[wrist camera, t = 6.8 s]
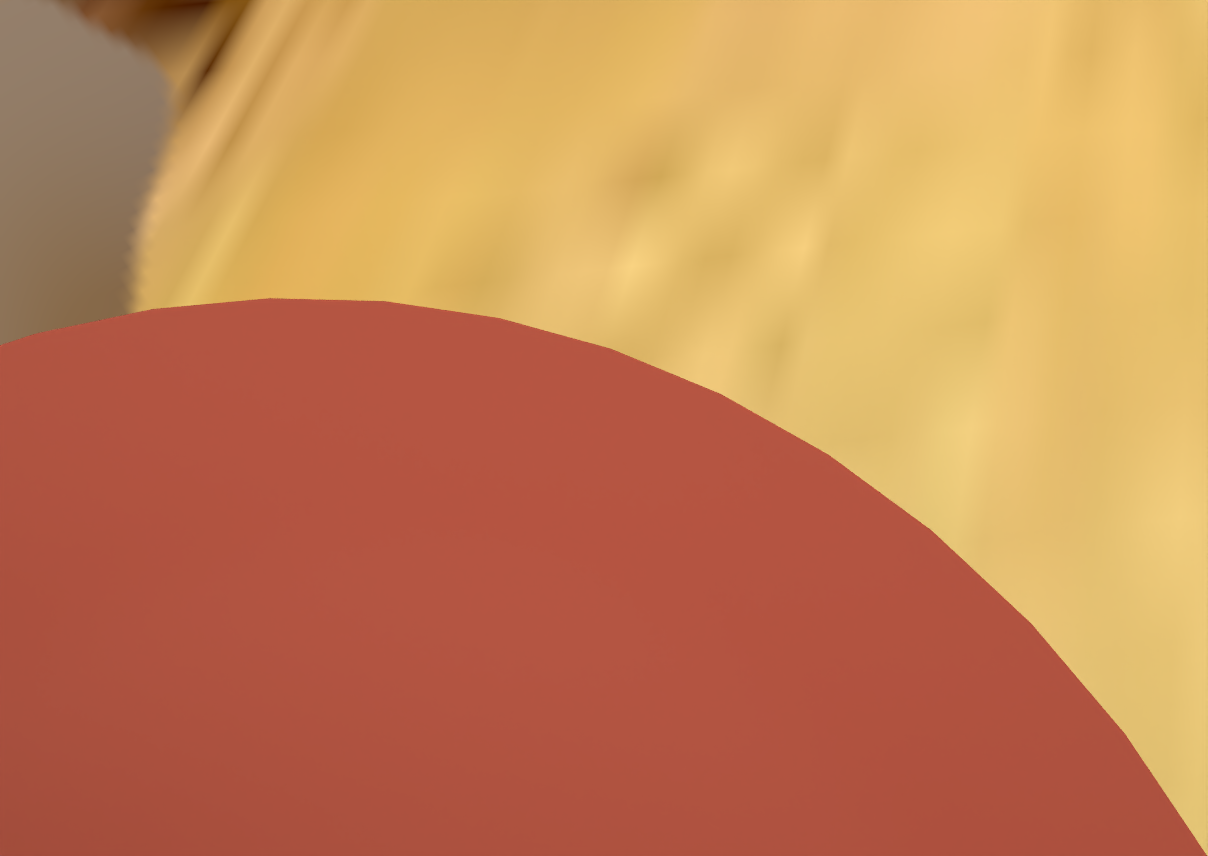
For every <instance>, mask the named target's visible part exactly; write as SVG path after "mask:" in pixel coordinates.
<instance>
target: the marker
mask: <svg viewBox="0 0 1208 856" xmlns="http://www.w3.org/2000/svg"><path fill="white" fill-rule="evenodd" d="M0 856H1207V855H1206V854H1205V852H1204V851H1203V849H1202V848H1201V846H1200V845H1199V843H1198V842H1197V840H1196V839H1195V837H1194V836H1193V834H1192V833H1191V831H1190V830H1189V828H1188V827H1187V825H1186V824H1185V822H1184V821H1183V819H1182V818H1181V816H1180V815H1179V813H1178V812H1177V810H1176V809H1175V808H1174V806H1173V805H1172V803H1171V802H1170V800H1169V799H1168V797H1167V796H1166V794H1165V793H1164V791H1163V790H1162V788H1161V787H1160V785H1159V784H1158V782H1157V781H1156V779H1155V778H1154V776H1153V775H1152V773H1151V772H1150V770H1149V769H1148V767H1147V766H1146V764H1145V763H1144V761H1143V760H1142V759H1141V757H1140V756H1139V754H1138V753H1137V751H1136V750H1135V748H1134V747H1133V745H1132V744H1131V742H1130V741H1129V739H1128V738H1127V736H1126V735H1125V733H1124V732H1123V731H1122V730H1121V729H1120V728H1119V726H1118V725H1117V724H1116V723H1115V722H1114V720H1113V719H1112V718H1111V717H1110V716H1109V715H1108V713H1107V712H1106V711H1105V710H1104V709H1103V708H1102V706H1101V705H1100V704H1099V703H1098V702H1097V700H1096V699H1095V698H1094V697H1093V696H1092V695H1091V693H1090V692H1089V691H1088V690H1087V689H1086V688H1085V686H1084V685H1083V684H1082V683H1081V682H1080V680H1079V679H1078V678H1077V677H1076V676H1075V675H1074V673H1073V672H1072V671H1071V670H1070V669H1069V668H1068V666H1067V665H1066V664H1065V663H1064V662H1063V660H1062V659H1061V658H1060V657H1059V656H1058V655H1057V653H1056V652H1055V651H1054V650H1053V649H1052V647H1051V646H1050V645H1049V644H1048V643H1047V642H1046V640H1045V639H1044V638H1043V637H1042V636H1041V635H1040V633H1039V632H1038V631H1037V630H1036V629H1035V627H1034V626H1033V625H1032V624H1031V623H1030V622H1029V621H1028V620H1027V619H1026V618H1025V617H1024V616H1023V615H1021V614H1020V613H1019V612H1018V611H1017V610H1016V609H1015V608H1014V607H1013V606H1012V605H1011V604H1010V603H1009V602H1008V601H1006V600H1005V599H1004V598H1003V597H1002V596H1001V595H1000V594H999V593H998V592H997V591H996V590H995V589H994V588H993V587H992V586H990V585H989V584H988V583H987V582H986V581H985V580H984V579H983V578H982V577H981V576H980V575H979V574H978V573H977V572H975V571H974V570H973V569H972V568H971V567H970V566H969V565H968V564H967V563H966V562H965V561H964V560H963V559H962V558H960V557H959V556H958V555H957V554H956V553H955V552H954V551H953V550H952V549H951V548H950V547H949V546H948V545H947V544H945V543H944V542H943V541H942V540H941V539H940V538H939V537H938V536H937V535H936V534H935V533H934V532H933V531H931V530H930V529H929V528H927V527H926V526H925V525H923V524H922V523H921V522H919V521H918V520H917V519H915V518H914V517H912V516H911V515H910V514H908V513H907V512H906V511H904V510H903V509H902V508H900V507H899V506H897V505H896V504H895V503H893V502H892V501H891V500H889V499H888V498H887V497H885V496H884V495H882V494H881V493H880V492H878V491H877V490H876V489H874V488H873V487H872V486H870V485H869V484H868V483H866V482H865V481H863V480H862V479H861V478H859V477H858V476H857V475H855V474H854V473H853V472H851V471H850V470H848V469H847V468H846V467H844V466H843V465H842V464H840V463H839V462H838V461H836V460H835V459H833V458H832V457H831V456H829V455H828V454H826V453H824V452H823V451H821V450H819V449H817V448H816V447H814V446H812V445H810V444H808V443H807V442H805V441H803V440H801V439H800V438H798V437H796V436H794V435H792V434H791V433H789V432H787V431H785V430H784V429H782V428H780V427H778V426H776V425H775V424H773V423H771V422H769V421H768V420H766V419H764V418H762V417H761V416H759V415H757V414H755V413H753V412H752V411H750V410H748V409H746V408H745V407H743V406H741V405H739V404H737V403H736V402H734V401H732V400H730V399H729V398H727V397H725V396H723V395H721V394H719V393H717V392H714V391H712V390H709V389H707V388H705V387H702V386H700V385H697V384H695V383H692V382H690V381H688V380H685V379H683V378H680V377H678V376H676V375H673V374H671V373H668V372H666V371H663V370H661V369H659V368H656V367H654V366H651V365H649V364H646V363H644V362H642V361H639V360H637V359H634V358H632V357H629V356H627V355H625V354H622V353H620V352H617V351H615V350H612V349H609V348H606V347H602V346H599V345H595V344H591V343H588V342H584V341H580V340H577V339H573V338H569V337H566V336H562V335H558V334H555V333H551V332H548V331H544V330H540V329H537V328H533V327H529V326H526V325H522V324H518V323H515V322H511V321H508V320H504V319H500V318H495V317H488V316H481V315H474V314H467V313H461V312H454V311H447V310H440V309H433V308H427V307H420V306H413V305H406V304H399V303H393V302H386V301H351V300H312V299H273V298H269V299H258V300H247V301H236V302H225V303H214V304H203V305H193V306H182V307H171V308H160V309H151V310H147V311H142V312H137V313H132V314H127V315H123V316H118V317H113V318H108V319H104V320H99V321H94V322H89V323H84V324H80V325H75V326H70V327H65V328H61V329H56V330H51V331H46V332H42V333H37V334H33V335H30V336H27V337H24V338H21V339H18V340H15V341H12V342H9V343H6V344H3V345H0Z"/></svg>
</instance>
